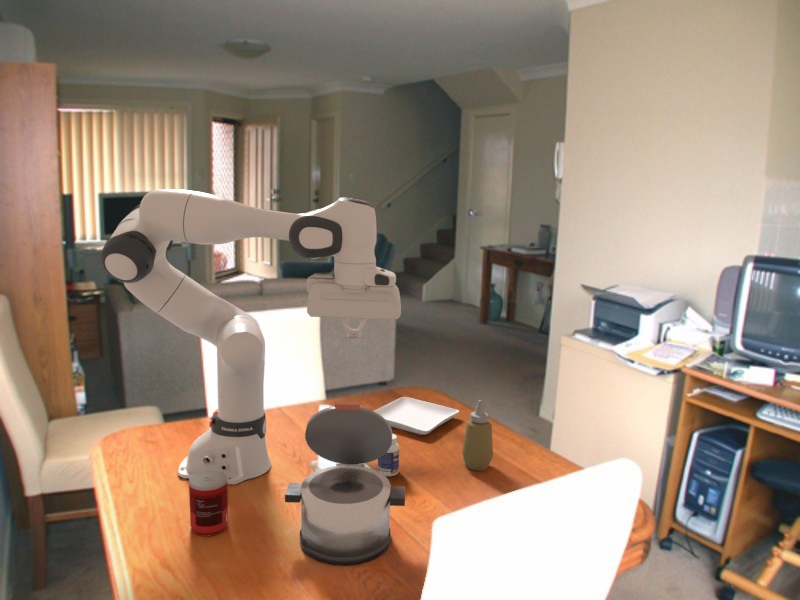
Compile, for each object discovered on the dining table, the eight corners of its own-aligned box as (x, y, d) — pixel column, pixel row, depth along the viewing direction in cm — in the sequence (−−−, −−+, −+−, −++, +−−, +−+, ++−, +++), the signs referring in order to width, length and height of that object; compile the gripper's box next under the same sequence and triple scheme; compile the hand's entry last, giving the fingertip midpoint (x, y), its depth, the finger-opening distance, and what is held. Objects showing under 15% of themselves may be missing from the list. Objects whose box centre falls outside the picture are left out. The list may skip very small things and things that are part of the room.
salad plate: (460, 419, 203) (461, 409, 202) (426, 441, 185) (427, 430, 184) (402, 405, 214) (403, 395, 213) (365, 425, 196) (365, 414, 195)
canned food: (213, 513, 143) (212, 466, 141) (236, 526, 138) (235, 478, 136) (182, 527, 137) (180, 478, 135) (204, 541, 132) (203, 491, 130)
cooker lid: (301, 404, 128) (302, 398, 129) (308, 463, 141) (309, 457, 142) (392, 407, 128) (392, 401, 129) (391, 465, 141) (391, 459, 142)
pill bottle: (396, 478, 162) (397, 441, 160) (375, 475, 163) (376, 439, 161) (400, 468, 167) (401, 433, 165) (380, 466, 168) (381, 430, 166)
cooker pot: (278, 563, 126) (278, 506, 123) (295, 511, 145) (295, 460, 143) (403, 567, 126) (405, 510, 123) (403, 515, 145) (405, 464, 142)
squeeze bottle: (489, 459, 174) (493, 395, 171) (494, 473, 166) (499, 406, 163) (459, 459, 174) (462, 395, 170) (463, 473, 166) (466, 406, 162)
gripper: (304, 275, 136) (303, 339, 139) (402, 278, 136) (399, 342, 139) (308, 270, 142) (308, 332, 145) (402, 273, 142) (400, 335, 145)
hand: (353, 337), depth 142 cm, fingers closed
